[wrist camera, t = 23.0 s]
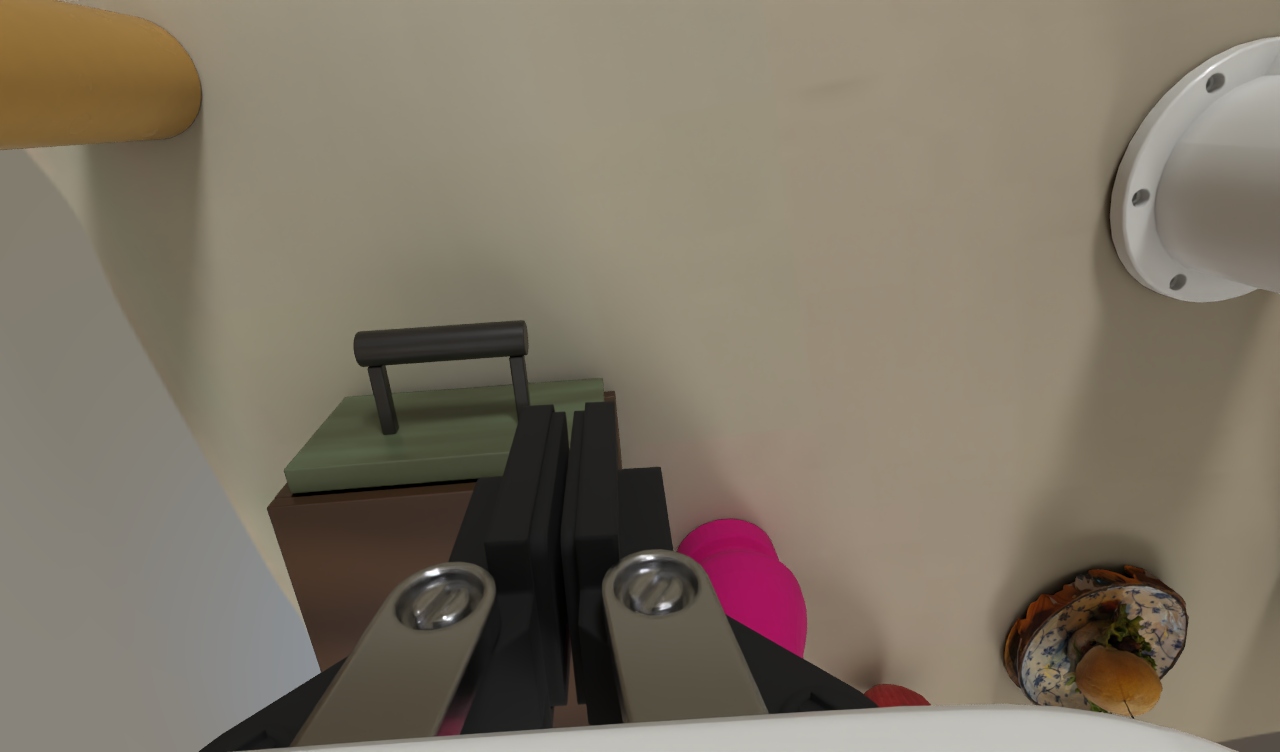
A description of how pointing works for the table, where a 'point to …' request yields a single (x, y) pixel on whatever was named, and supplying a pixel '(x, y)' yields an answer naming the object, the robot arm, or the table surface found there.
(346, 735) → the robot arm
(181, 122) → the tin
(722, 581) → the pepper mill
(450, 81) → the table surface
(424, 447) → the drawer
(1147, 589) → the burger
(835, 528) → the table surface
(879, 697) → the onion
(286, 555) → the cabinet
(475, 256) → the table surface
